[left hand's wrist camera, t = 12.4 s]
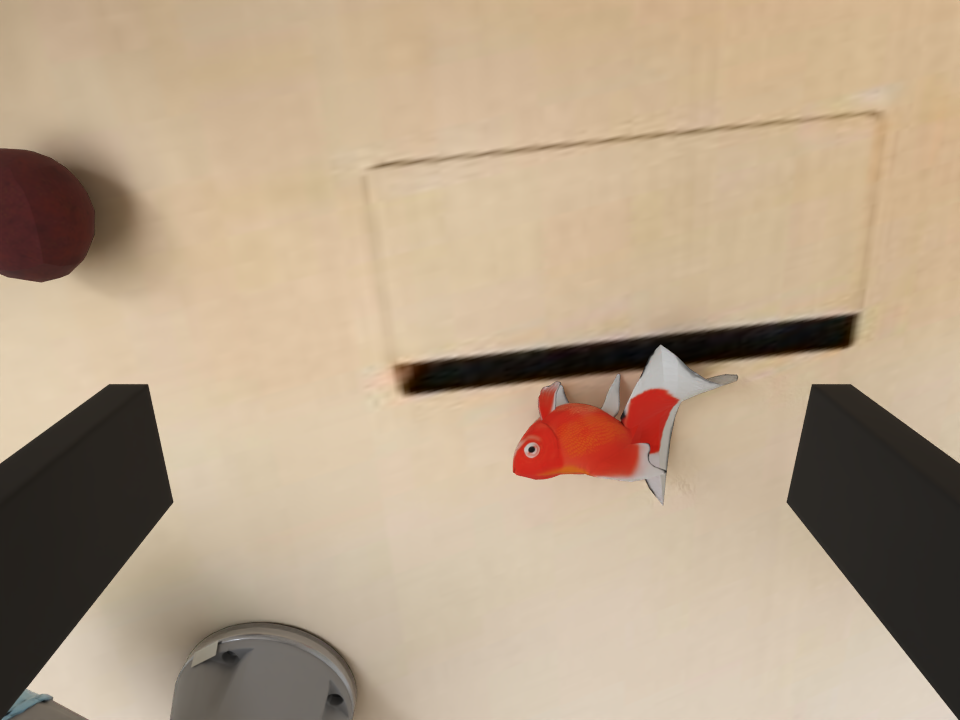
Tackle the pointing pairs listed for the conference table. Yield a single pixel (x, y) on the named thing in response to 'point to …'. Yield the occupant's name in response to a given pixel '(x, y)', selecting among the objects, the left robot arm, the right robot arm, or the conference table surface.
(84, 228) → the potato
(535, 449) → the fish
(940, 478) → the left robot arm
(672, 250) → the conference table surface
